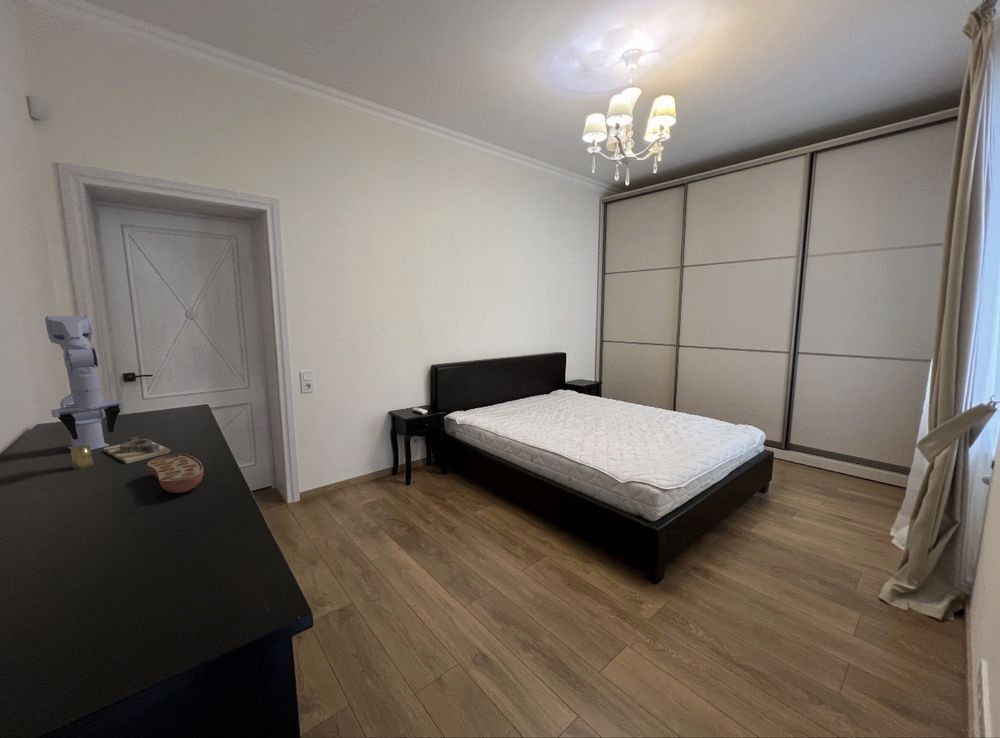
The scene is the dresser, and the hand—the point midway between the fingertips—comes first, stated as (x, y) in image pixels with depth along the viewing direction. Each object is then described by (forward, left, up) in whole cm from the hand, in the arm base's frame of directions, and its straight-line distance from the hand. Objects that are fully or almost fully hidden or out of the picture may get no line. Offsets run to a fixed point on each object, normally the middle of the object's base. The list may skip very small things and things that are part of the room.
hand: (93, 435), depth 117 cm
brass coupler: (-3, -3, -10) cm, 10 cm away
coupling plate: (-5, +10, -10) cm, 15 cm away
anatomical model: (+34, +8, -10) cm, 36 cm away
